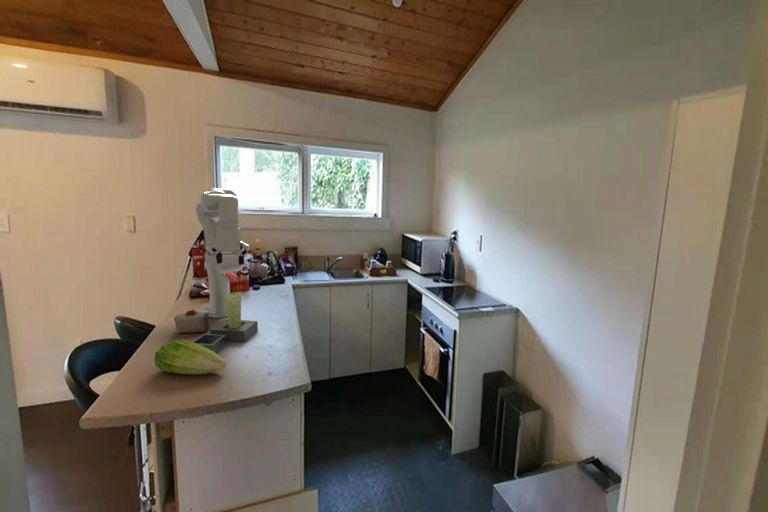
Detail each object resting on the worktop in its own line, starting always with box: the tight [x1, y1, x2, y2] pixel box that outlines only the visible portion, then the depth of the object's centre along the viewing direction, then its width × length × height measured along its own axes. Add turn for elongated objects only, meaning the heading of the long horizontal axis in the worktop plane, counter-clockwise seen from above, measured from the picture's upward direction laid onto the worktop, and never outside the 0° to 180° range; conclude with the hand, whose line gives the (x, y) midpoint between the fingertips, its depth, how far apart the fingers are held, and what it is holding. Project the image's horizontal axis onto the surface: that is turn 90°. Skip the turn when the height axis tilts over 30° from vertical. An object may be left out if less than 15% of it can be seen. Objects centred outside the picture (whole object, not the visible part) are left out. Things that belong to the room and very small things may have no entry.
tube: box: [225, 291, 243, 329], centre depth 155 cm, size 6×5×20 cm
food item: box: [173, 308, 210, 334], centre depth 160 cm, size 14×8×10 cm, turn 101°
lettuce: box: [154, 339, 227, 375], centre depth 123 cm, size 12×24×13 cm
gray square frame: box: [191, 333, 228, 354], centre depth 142 cm, size 10×11×4 cm
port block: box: [209, 319, 259, 344], centre depth 156 cm, size 15×13×5 cm
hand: (230, 263), depth 155 cm, fingers open, 9 cm apart
